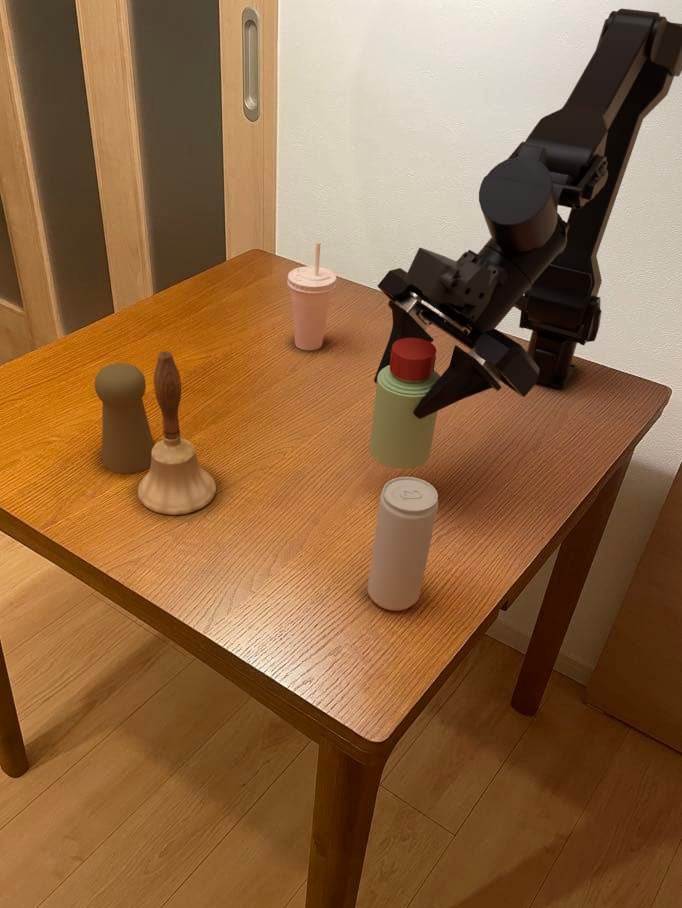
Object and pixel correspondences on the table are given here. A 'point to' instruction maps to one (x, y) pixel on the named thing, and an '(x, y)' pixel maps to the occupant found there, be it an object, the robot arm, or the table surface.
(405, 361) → the bottle cap
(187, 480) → the hand bell
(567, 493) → the table surface
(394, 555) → the beverage can
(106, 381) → the cork
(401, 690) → the table surface
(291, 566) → the table surface
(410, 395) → the sauce bottle
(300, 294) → the smoothie
